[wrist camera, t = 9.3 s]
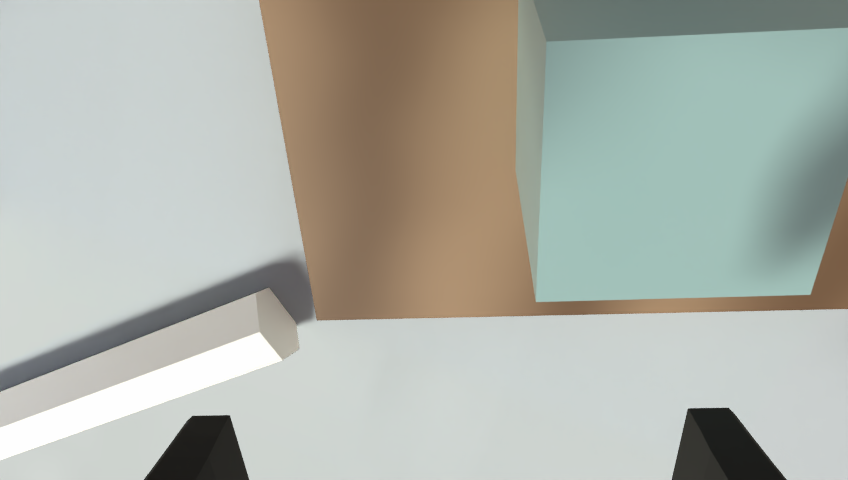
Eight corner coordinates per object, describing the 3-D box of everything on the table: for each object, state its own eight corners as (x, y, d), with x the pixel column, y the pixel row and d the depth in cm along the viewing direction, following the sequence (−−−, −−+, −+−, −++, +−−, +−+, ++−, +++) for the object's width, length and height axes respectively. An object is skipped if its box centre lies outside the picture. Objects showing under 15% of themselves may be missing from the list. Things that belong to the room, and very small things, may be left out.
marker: (-73, 418, 27) (283, 281, 23) (-51, 470, 28) (308, 343, 23) (-142, 447, 25) (242, 298, 20) (-118, 504, 25) (270, 368, 20)
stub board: (324, 287, 22) (302, 385, 19) (228, -286, 14) (160, -291, 11) (871, 274, 21) (949, 374, 18) (1105, -344, 13) (1325, -368, 10)
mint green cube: (515, 169, 18) (536, 301, 14) (519, -45, 15) (546, 41, 11) (725, 161, 17) (810, 295, 13) (770, -58, 15) (896, 25, 10)
